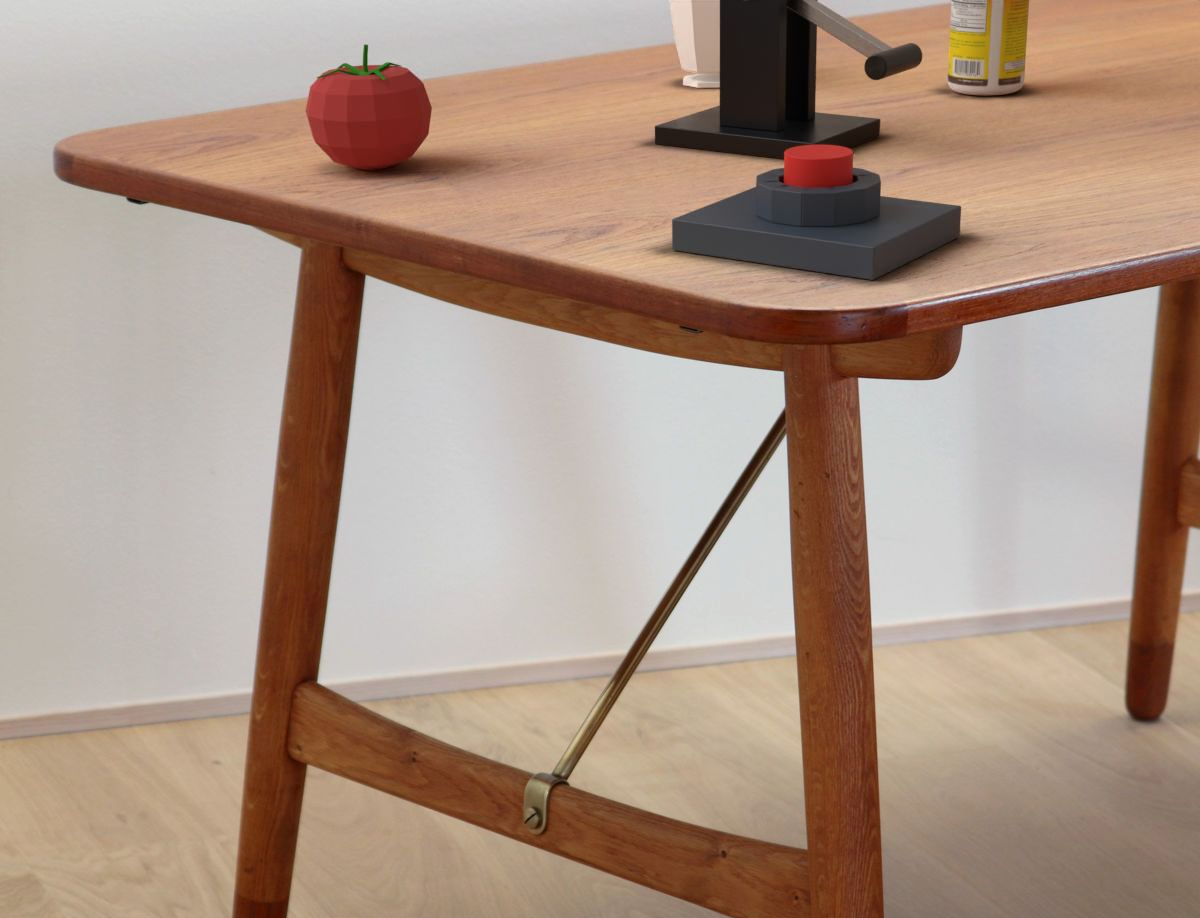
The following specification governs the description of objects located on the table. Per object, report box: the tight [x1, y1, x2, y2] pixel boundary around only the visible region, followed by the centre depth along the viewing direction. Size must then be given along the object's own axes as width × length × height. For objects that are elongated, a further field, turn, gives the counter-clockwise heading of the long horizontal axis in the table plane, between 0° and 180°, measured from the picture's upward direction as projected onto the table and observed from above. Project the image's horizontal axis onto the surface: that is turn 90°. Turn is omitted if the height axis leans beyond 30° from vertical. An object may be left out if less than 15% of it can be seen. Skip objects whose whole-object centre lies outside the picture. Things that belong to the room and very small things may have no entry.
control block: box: [671, 167, 962, 281], centre depth 102 cm, size 12×10×4 cm
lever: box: [787, 0, 923, 81], centre depth 122 cm, size 12×5×2 cm, turn 55°
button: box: [783, 145, 854, 188], centre depth 101 cm, size 4×4×2 cm
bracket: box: [654, 0, 881, 160], centre depth 125 cm, size 12×9×12 cm
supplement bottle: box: [947, 0, 1030, 97], centre depth 140 cm, size 6×6×10 cm
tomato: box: [305, 43, 433, 171], centre depth 122 cm, size 8×8×8 cm
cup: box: [668, 0, 720, 89], centre depth 147 cm, size 7×10×8 cm
